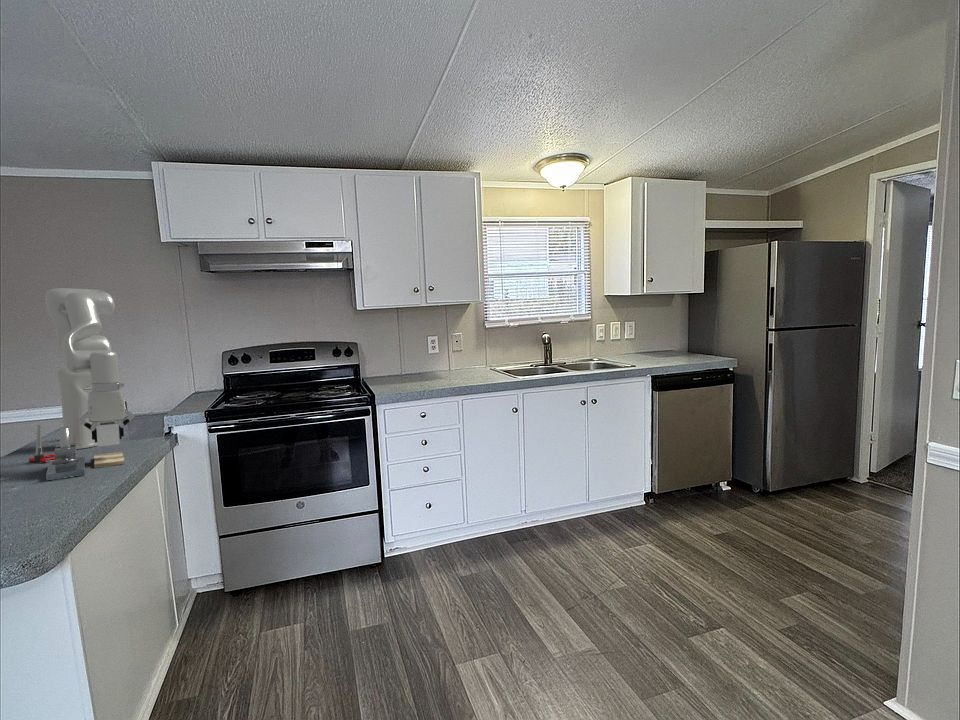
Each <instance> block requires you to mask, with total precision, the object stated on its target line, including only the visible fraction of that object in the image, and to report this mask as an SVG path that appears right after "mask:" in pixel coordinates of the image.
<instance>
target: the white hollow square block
mask: <svg viewBox="0 0 960 720" xmlns="http://www.w3.org/2000/svg"><path fill="white" fill-rule="evenodd" d="M96 430H97V446H96V447H106V446H107V447H108V446H115V445H120V444H121V443H120V440H121V439H119V423H118V422H117V420H115V421H104V422H98V423H97V425H96Z"/></svg>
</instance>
